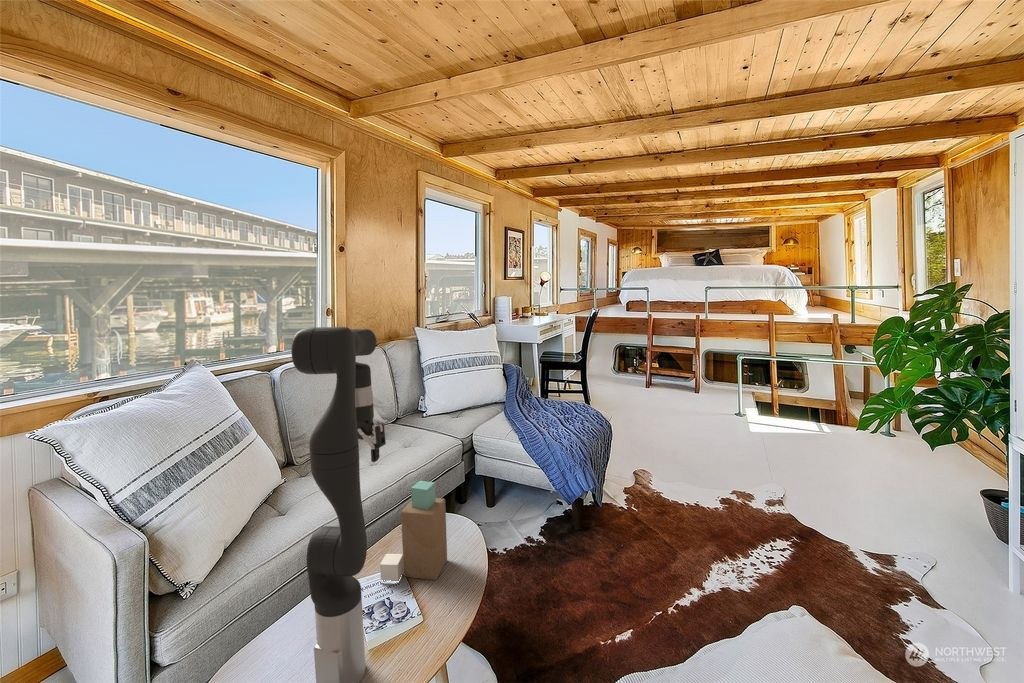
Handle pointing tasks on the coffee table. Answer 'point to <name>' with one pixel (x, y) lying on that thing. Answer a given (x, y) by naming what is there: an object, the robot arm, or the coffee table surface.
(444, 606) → the coffee table surface
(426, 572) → the wooden block
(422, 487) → the teal block
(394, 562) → the cream block
